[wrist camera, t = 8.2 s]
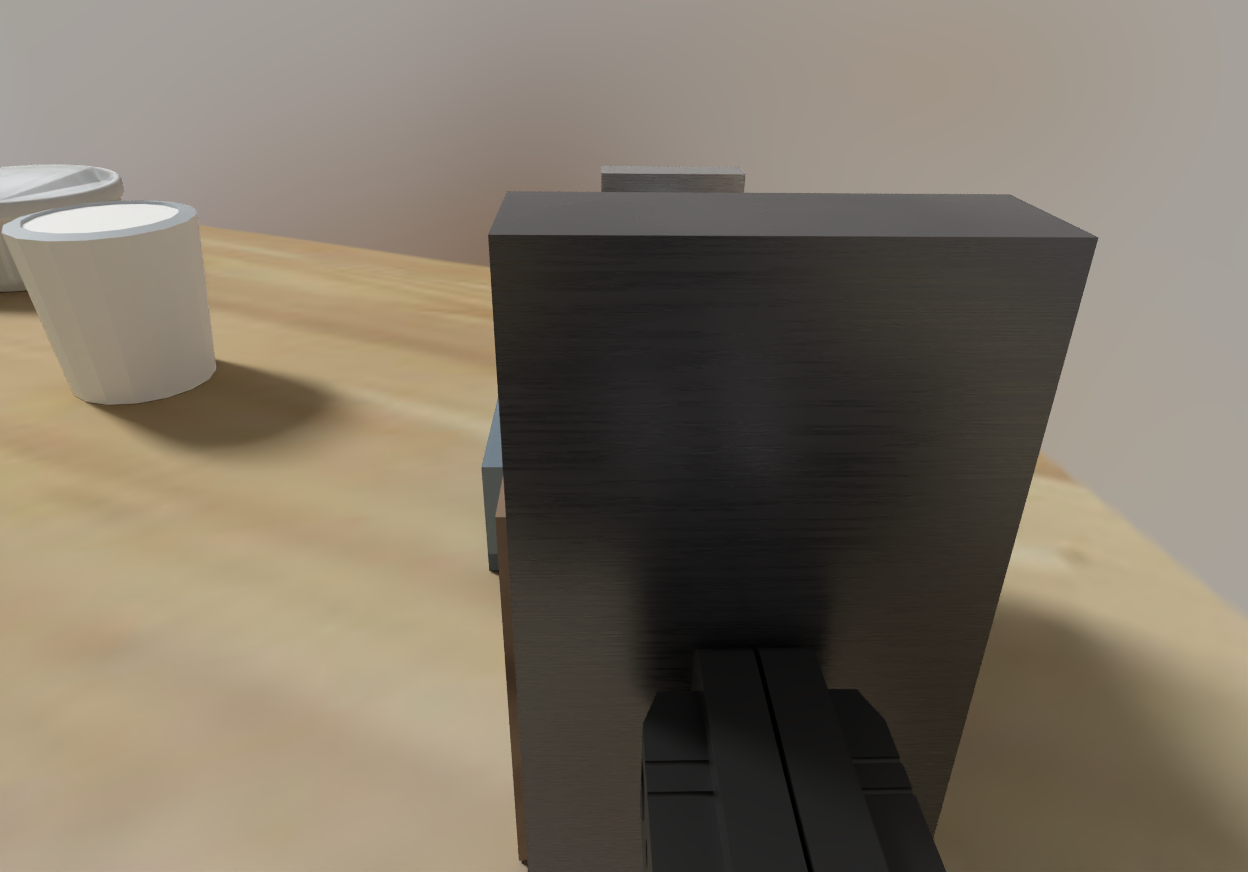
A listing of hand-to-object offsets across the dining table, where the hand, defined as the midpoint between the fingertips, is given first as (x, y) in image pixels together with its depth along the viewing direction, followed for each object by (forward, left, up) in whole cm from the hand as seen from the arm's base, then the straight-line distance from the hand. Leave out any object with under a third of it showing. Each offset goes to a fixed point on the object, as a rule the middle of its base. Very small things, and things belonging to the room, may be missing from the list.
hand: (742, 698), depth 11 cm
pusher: (+6, +4, -4) cm, 8 cm away
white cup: (+12, +32, -7) cm, 35 cm away
